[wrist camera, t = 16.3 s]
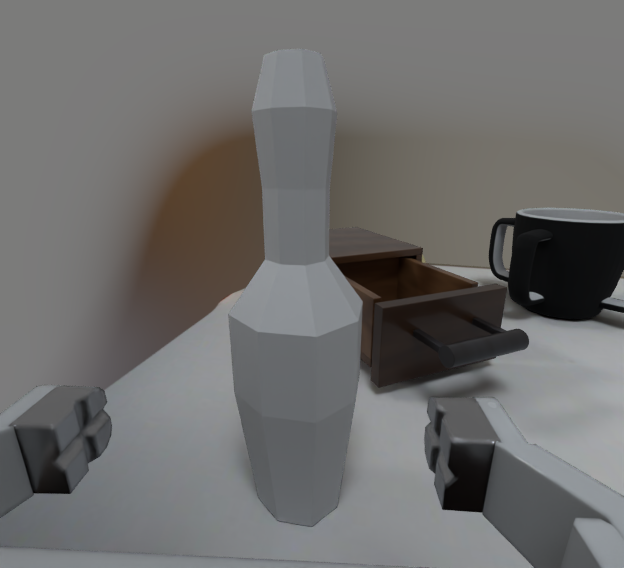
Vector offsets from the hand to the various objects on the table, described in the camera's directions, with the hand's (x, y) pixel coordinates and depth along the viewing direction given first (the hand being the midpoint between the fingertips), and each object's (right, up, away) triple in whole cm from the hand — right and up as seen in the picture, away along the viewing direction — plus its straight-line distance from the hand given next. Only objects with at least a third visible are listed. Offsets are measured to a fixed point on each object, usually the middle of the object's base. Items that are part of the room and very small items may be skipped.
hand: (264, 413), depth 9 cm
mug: (+32, 0, +39) cm, 51 cm away
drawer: (+10, -3, +27) cm, 29 cm away
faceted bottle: (+1, -9, +12) cm, 15 cm away
